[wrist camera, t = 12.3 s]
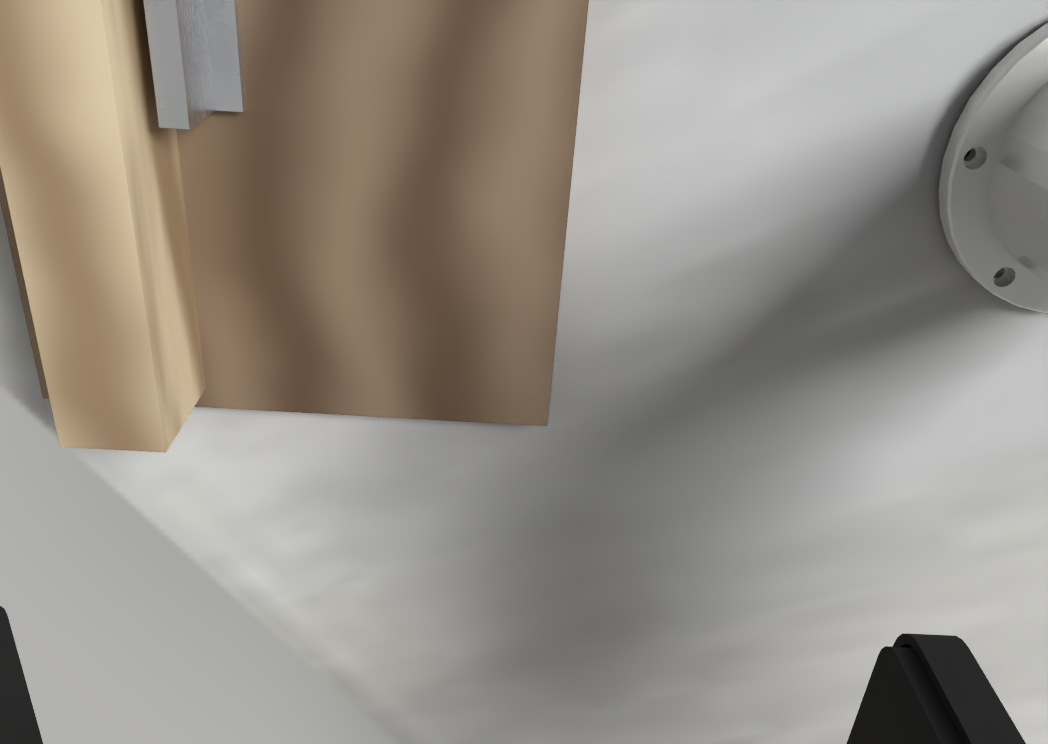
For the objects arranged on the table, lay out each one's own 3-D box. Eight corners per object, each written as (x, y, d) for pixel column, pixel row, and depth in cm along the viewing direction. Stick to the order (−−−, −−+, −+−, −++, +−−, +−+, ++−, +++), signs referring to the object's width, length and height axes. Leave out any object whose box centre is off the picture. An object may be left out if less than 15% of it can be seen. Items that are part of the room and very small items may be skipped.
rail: (153, -76, 30) (91, -70, 26) (205, 388, 39) (165, 452, 34) (31, -86, 30) (-52, -81, 25) (111, 382, 38) (59, 446, 34)
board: (602, -177, 30) (606, -180, 29) (546, 408, 41) (547, 425, 40) (-68, -233, 29) (-96, -238, 28) (58, 381, 40) (43, 398, 39)
